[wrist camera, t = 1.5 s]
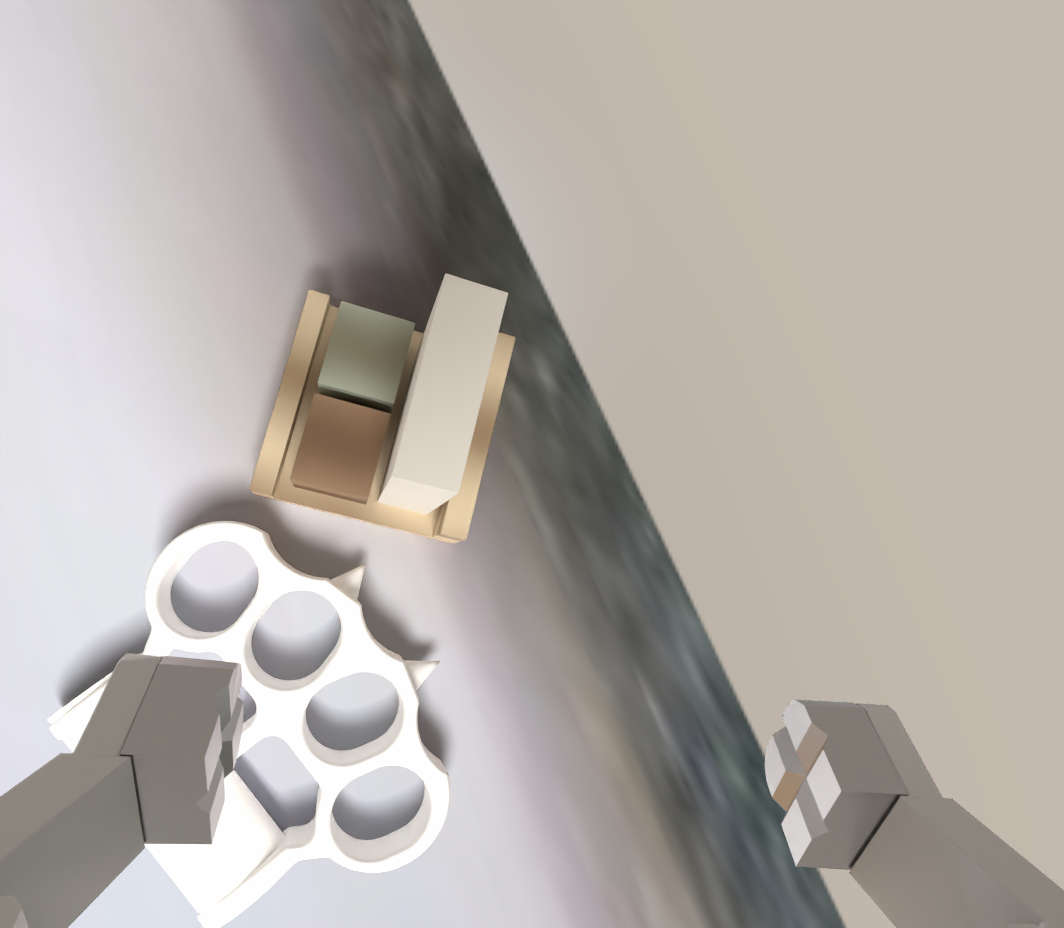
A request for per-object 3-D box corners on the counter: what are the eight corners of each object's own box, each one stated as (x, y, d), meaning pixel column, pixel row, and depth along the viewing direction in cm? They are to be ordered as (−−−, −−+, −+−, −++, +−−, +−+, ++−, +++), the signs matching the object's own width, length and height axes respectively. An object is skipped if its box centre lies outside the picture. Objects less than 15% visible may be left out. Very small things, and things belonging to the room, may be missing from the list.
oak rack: (452, 543, 41) (466, 539, 37) (254, 494, 39) (244, 484, 35) (497, 361, 43) (515, 337, 39) (310, 306, 41) (307, 274, 37)
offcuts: (365, 504, 39) (368, 498, 36) (293, 486, 39) (289, 478, 35) (409, 343, 41) (415, 322, 38) (340, 323, 40) (341, 300, 37)
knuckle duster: (17, 657, 36) (292, 468, 40) (259, 967, 37) (506, 752, 41) (-14, 665, 33) (288, 459, 37) (252, 1005, 34) (521, 767, 38)
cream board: (426, 514, 40) (458, 493, 30) (376, 502, 40) (391, 475, 29) (464, 364, 42) (508, 292, 31) (417, 350, 41) (445, 273, 31)
